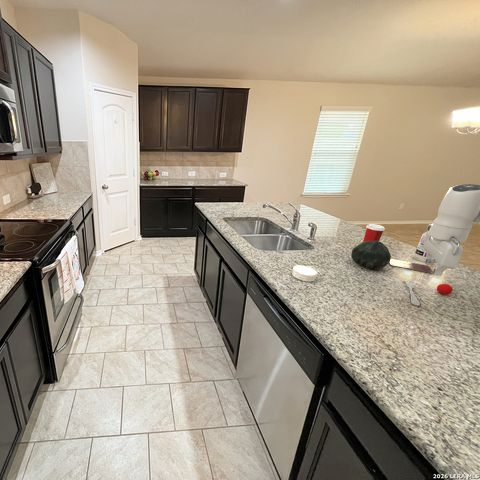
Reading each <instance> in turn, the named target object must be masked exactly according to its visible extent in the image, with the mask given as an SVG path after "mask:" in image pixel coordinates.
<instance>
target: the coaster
mask: <svg viewBox="0 0 480 480" xmlns="http://www.w3.org/2000/svg"><path fill="white" fill-rule="evenodd" d="M291 275H292V276H293V278H295V279H296V280H299V281H303V282H310V283H311V282H314V281H316V280H317V276H318V272H317V270H315V268H313V267H310V266H307V265H301V264H299V265H294V266H293V267H292V270H291Z"/></svg>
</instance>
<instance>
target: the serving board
mask: <svg viewBox="0 0 480 480" xmlns="http://www.w3.org/2000/svg"><path fill="white" fill-rule="evenodd" d="M388 264H389V265H390V266H391V267H395V268H400V269H404V270H409V271H416V272H420V273H424V274H430V275H435V274H434V273H433V271H434V270H433V269H431V267H430V265H427V264H421V263H416V262H413V261H412V262H411V261H405V260H400V259H397V258H396V259H395V258H391V259H390V262H389V263H388Z"/></svg>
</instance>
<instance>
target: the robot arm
mask: <svg viewBox="0 0 480 480" xmlns="http://www.w3.org/2000/svg"><path fill="white" fill-rule="evenodd" d="M437 211H438V212H437V216H436V217H435V219H434V220H433V222H432V224H428V225H427V227H426V232H427V234H426V237H425V240H424V248H425V250H426V251H427V255H426V260H425V262H424V263H425V265H427V266H433V264H434V263H435V262H436V263H437V266H436V268H434V269H433V270H432V271H433V273H434V274H433V275H435V276H439V277H442V275H443V273H444V272H445V271H446V270H447V269H453V270H454V269H456V268H457V267H458V266H459V264H460V261H461V258H462V256H463V252H464V248H463V245H461V243H465V242H467V239H468V237H469V235H470V232H471V231H472V229H473V224H476V225H480V184H474V183H473V184H466V183H465V184H464V183H463V184H457V185H454V186H451V187H450V188H449V190H448V191H447V192H446V194H445V195H444V197H443V199H442V200H441V202H440V205H439V207H438V210H437ZM434 260H435V262H434Z"/></svg>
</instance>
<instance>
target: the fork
mask: <svg viewBox="0 0 480 480" xmlns="http://www.w3.org/2000/svg"><path fill="white" fill-rule="evenodd" d="M405 285H406V286H407V287H408V290H409V293H410V302H411V304H412V305H414V306H417V307H418V306H419V307H420V306H421V304H420V303H421V302H420V301H419V299H418V298H417V297H416V295H415V293H414V292H413V289H415V288H416V284H415V283H412V282H409V281H405Z"/></svg>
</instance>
